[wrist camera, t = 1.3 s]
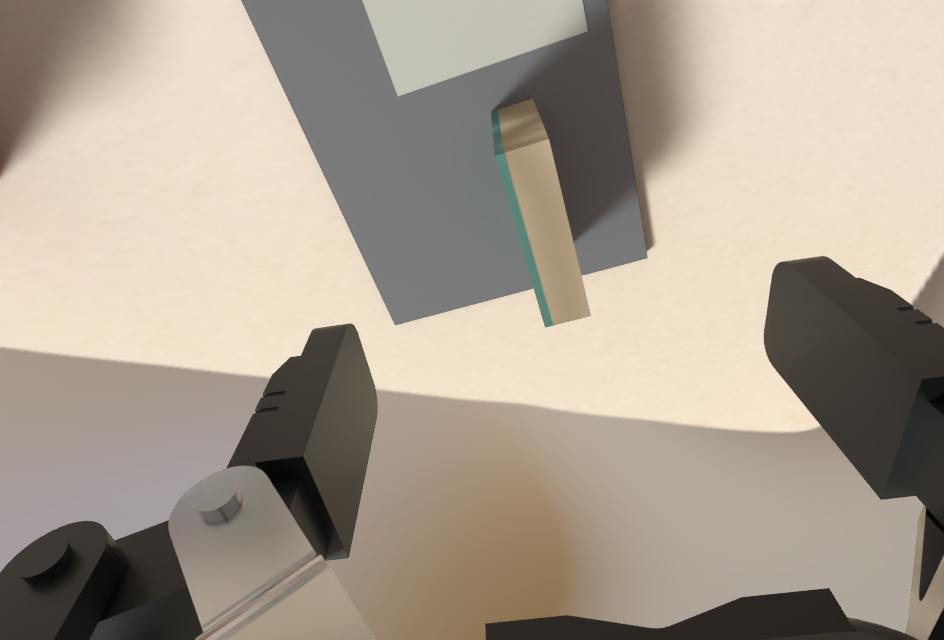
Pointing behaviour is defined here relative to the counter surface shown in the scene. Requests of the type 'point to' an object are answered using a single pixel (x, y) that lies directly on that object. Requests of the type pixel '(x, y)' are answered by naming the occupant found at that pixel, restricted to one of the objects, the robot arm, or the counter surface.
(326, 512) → the robot arm
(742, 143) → the counter surface
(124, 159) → the counter surface
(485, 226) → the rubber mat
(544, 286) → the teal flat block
